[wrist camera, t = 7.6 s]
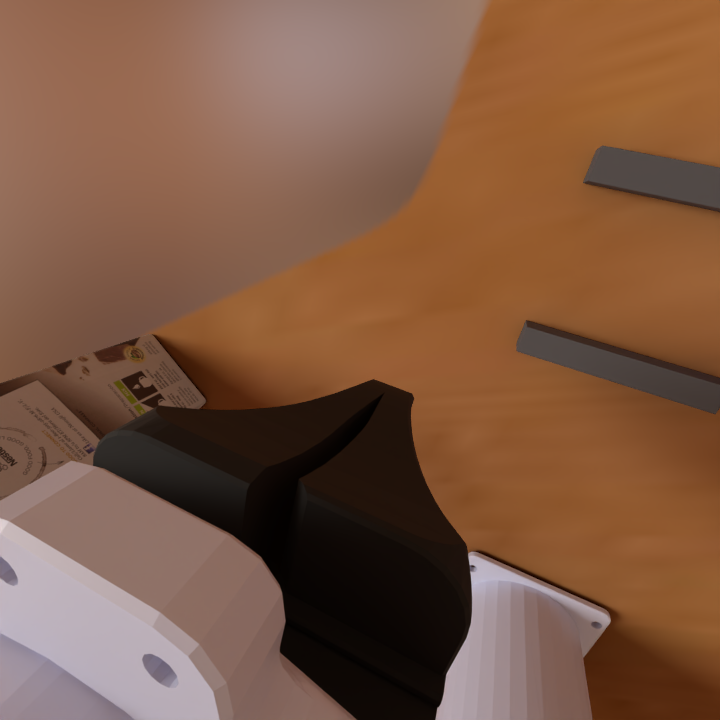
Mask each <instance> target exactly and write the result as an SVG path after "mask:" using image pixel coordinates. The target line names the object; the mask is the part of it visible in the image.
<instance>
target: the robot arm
mask: <svg viewBox="0 0 720 720" xmlns="http://www.w3.org/2000/svg"><path fill="white" fill-rule="evenodd" d="M413 401H414V397H413V395H412V393H409V392H406V391H404V390H401V389H398V388H396V387H393V386H390V385H387V384H385V383H382V382H379V381H377V380H374V379H373V380H370V381H367V382H365V383H362V384H359V385H357V386H354V387H351V388H349V389H346V390H343V391H340V392H338V393H335V394H331V395H328V396H325V397H321V398H318V399H314V400H311V401H307V402H302V403H298V404H292V405H286V406H280V407H272V408H260V409H249V410H206V409H192V408H181V407H170V406H162V405H159V406H157V407H155V408H154V409H152V410H150V411H148V412H146V413H144V414H142V415H141V416H139V417H137V418H135V419H133V420H131V421H130V422H128V423H126V424H124V425H122V426H120V427H119V428H117V429H115V430H113V431H111V432H109V433H108V434H106V435H105V436H104V437H103V438H102V439H101V440H100V441H99V442H98V445H97V447H96V449H95V452H94V456H93V466H92V465H88V464H84V463H80V462H75V461H70V462H68V463H66V464H65V465H63V466H61V467H59V468H58V469H56V470H54V471H52V472H50V473H49V474H47V475H45V476H43V477H42V478H40V479H38V480H36V481H34V482H33V483H31V484H29V485H27V486H25V487H24V488H22V489H20V490H18V491H17V492H15V493H13V494H11V495H9V496H8V497H6V498H4V499H2V500H1V501H0V720H593V719H592V712H591V706H590V699H589V693H588V687H587V680H586V674H585V667H584V661H583V658H584V656H585V655H586V654H587V653H588V651H589V650H590V649H591V647H592V646H593V645H594V643H595V642H596V641H597V640H598V638H599V637H600V636H601V634H602V633H603V632H604V630H605V629H606V628H607V627H608V625H609V624H610V622H611V619H610V615H609V612H608V611H607V610H605V609H604V608H601V607H599V606H597V605H595V604H592V603H590V602H588V601H586V600H583V599H581V598H579V597H577V596H574V595H572V594H570V593H568V592H566V591H563V590H561V589H559V588H557V587H554V586H552V585H550V584H548V583H545V582H543V581H541V580H539V579H536V578H534V577H532V576H530V575H527V574H525V573H523V572H521V571H518V570H516V569H514V568H512V567H509V566H507V565H505V564H503V563H500V562H498V561H496V560H494V559H492V558H489V557H487V556H485V555H483V554H480V553H478V552H470V553H469V554H468V550H467V546H466V544H465V542H464V541H463V539H462V538H461V537H460V535H459V534H458V533H457V532H456V530H455V529H454V528H453V526H452V525H451V524H450V523H449V521H448V520H447V519H446V517H445V516H444V514H443V513H442V511H441V510H440V508H439V506H438V505H437V503H436V502H435V500H434V498H433V496H432V494H431V492H430V490H429V488H428V486H427V484H426V481H425V479H424V476H423V474H422V471H421V468H420V465H419V462H418V459H417V455H416V451H415V447H414V442H413V436H412V427H411V407H412V404H413ZM470 565H474V566H475V567H472V566H470Z"/></svg>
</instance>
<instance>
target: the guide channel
mask: <svg viewBox="0 0 720 720" xmlns="http://www.w3.org/2000/svg"><path fill="white" fill-rule="evenodd" d="M583 183H586V184H590V185H595V186H600V187H605V188H609V189H614V190H619V191H624V192H628V193H633V194H638V195H643V196H647V197H652V198H657V199H662V200H666V201H671V202H676V203H681V204H685V205H690V206H695V207H700V208H704V209H709V210H714V211H718V212H720V168H719V167H714V166H708V165H703V164H698V163H692V162H687V161H682V160H676V159H671V158H666V157H660V156H655V155H650V154H644V153H639V152H634V151H628V150H623V149H618V148H612V147H607V146H601V147H600V148H599V149H597V150H596V152H595V155H594V157H593V160H592V162H591V164H590V167H589V169H588V172H587V174H586V177H585V179H584V181H583ZM517 351H518V352H521V353H524V354H527V355H530V356H534V357H537V358H540V359H543V360H546V361H549V362H552V363H556V364H559V365H562V366H565V367H568V368H571V369H574V370H578V371H581V372H584V373H587V374H590V375H593V376H596V377H600V378H603V379H606V380H609V381H612V382H615V383H618V384H622V385H625V386H628V387H631V388H634V389H637V390H641V391H644V392H647V393H650V394H653V395H656V396H659V397H663V398H666V399H669V400H672V401H675V402H678V403H681V404H685V405H688V406H691V407H694V408H697V409H700V410H703V411H707V412H710V413H713V414H716V413H717V411H718V410H719V408H720V378H718V377H715V376H711V375H708V374H705V373H701V372H698V371H695V370H691V369H688V368H685V367H681V366H678V365H675V364H671V363H668V362H665V361H661V360H658V359H654V358H651V357H648V356H644V355H641V354H638V353H634V352H631V351H628V350H624V349H621V348H618V347H614V346H611V345H607V344H604V343H601V342H597V341H594V340H591V339H587V338H584V337H581V336H577V335H574V334H571V333H567V332H564V331H560V330H557V329H554V328H550V327H547V326H544V325H540V324H537V323H534V322H530V321H527V320H526V322H525V324H524V327H523V329H522V331H521V334H520V336H519V339H518V341H517Z"/></svg>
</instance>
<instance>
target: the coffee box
mask: <svg viewBox="0 0 720 720" xmlns="http://www.w3.org/2000/svg"><path fill="white" fill-rule="evenodd" d="M205 403H206V400H205V398H204V397H203V396H202V394H201V393H200V392H199V391H198V390H197V388H196V387H195V386H194V385H193V383H192V382H191V381H190V380H189V379H188V377H187V376H186V375H185V374H184V372H183V371H182V370H181V369H180V368H179V366H178V365H177V364H176V363H175V361H174V360H173V359H172V358H171V357H170V355H169V354H168V353H167V352H166V350H165V349H164V348H163V347H162V346H161V344H160V343H159V342H158V341H157V339H156V338H155V337H154V336H153V335H150V334H148V335H144V336H141V337H139V338H136V339H132V340H129V341H126V342H123V343H120V344H118V345H114V346H111V347H108V348H105V349H102V350H99V351H96V352H93V353H90V354H87V355H84V356H81V357H78V358H74V359H71V360H69V361H66V362H64V363H60V364H57V365H55V366H52V367H48V368H45V369H42V370H39V371H36V372H33V373H30V374H27V375H24V376H21V377H18V378H15V379H12V380H9V381H6V382H3V383H0V501H1V500H2V499H4V498H6V497H8V496H9V495H11V494H13V493H15V492H17V491H18V490H20V489H22V488H24V487H25V486H27V485H29V484H31V483H33V482H34V481H36V480H38V479H40V478H42V477H43V476H45V475H47V474H49V473H50V472H52V471H54V470H56V469H58V468H59V467H61V466H63V465H65V464H66V463H68V462H70V461H75V462H80V463H84V464H88V465H92V466H93V456H94V452H95V449H96V447H97V445H98V442H99V441H100V440H101V439H102V438H103V437H104V436H105V435H106V434H108V433H109V432H111V431H113V430H115V429H117V428H119V427H120V426H122V425H124V424H126V423H128V422H130V421H131V420H133V419H135V418H137V417H139V416H141V415H142V414H144V413H146V412H148V411H150V410H152V409H154V408H155V407H157V406H159V405H162V406H170V407H181V408H192V409H199V408H200V407H202V406H203V405H204V404H205Z"/></svg>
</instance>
